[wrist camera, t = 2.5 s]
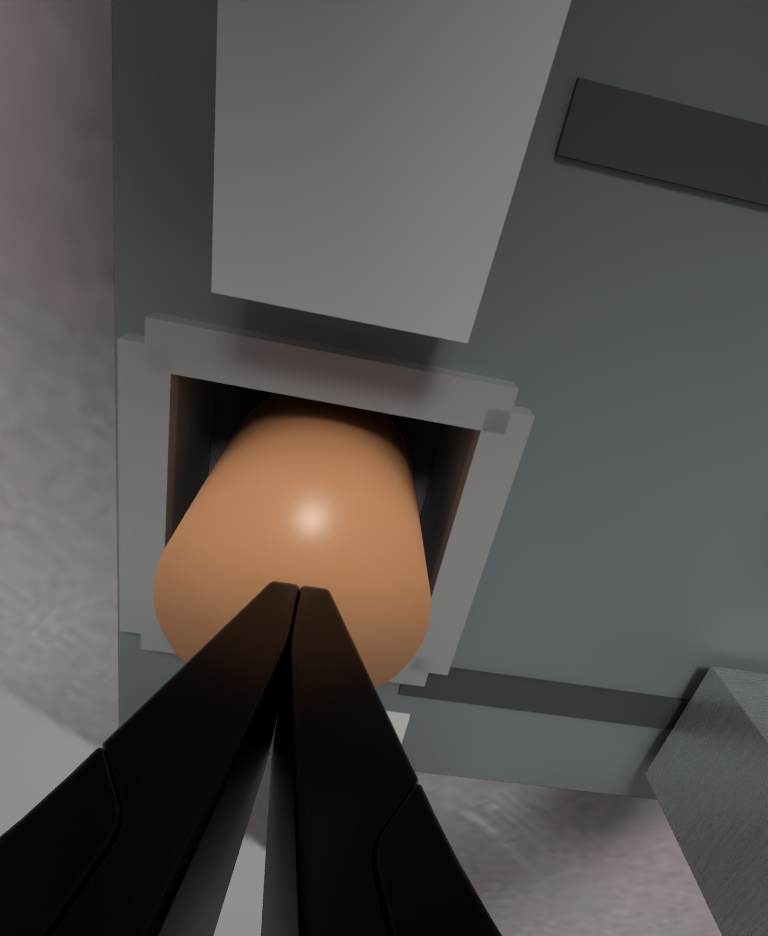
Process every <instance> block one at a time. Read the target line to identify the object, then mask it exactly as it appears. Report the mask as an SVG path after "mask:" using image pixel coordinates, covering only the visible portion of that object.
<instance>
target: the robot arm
mask: <svg viewBox="0 0 768 936" xmlns="http://www.w3.org/2000/svg"><path fill="white" fill-rule="evenodd" d="M277 715H278V716H277ZM276 720H277V722H276ZM275 726H276V728H275ZM274 730H275V734H274ZM273 735H274V741H273V750H272V761H271V776H270V793H269V810H268V827H267V843H266V861H265V877H264V894H263V910H262V929H261V936H502V935H501V933H500V932H499V930H498V928H497V927H496V925H495V923H494V922H493V920H492V918H491V917H490V915H489V913H488V912H487V910H486V908H485V907H484V905H483V903H482V901H481V900H480V898H479V896H478V894H477V893H476V891H475V889H474V887H473V886H472V884H471V882H470V880H469V879H468V877H467V875H466V874H465V872H464V870H463V868H462V867H461V865H460V863H459V861H458V859H457V857H456V855H455V853H454V852H453V850H452V848H451V846H450V844H449V842H448V840H447V838H446V836H445V834H444V832H443V830H442V828H441V826H440V824H439V822H438V820H437V818H436V816H435V814H434V812H433V810H432V807H431V805H430V803H429V801H428V799H427V797H426V795H425V792H424V790H423V788H422V786H421V785H419V784H417V782H418V778H417V776H416V774H415V772H414V770H413V768H412V765H411V763H410V761H409V759H408V757H407V755H406V753H405V750H404V748H403V746H402V744H401V742H400V740H399V738H398V736H397V733H396V731H395V729H394V727H393V725H392V723H391V721H390V719H389V716H388V714H387V712H386V710H385V708H384V706H383V704H382V701H381V699H380V697H379V695H378V693H377V691H376V689H375V687H374V684H373V682H372V680H371V678H370V676H369V674H368V672H367V670H366V667H365V665H364V663H363V661H362V659H361V657H360V655H359V652H358V650H357V648H356V646H355V644H354V642H353V640H352V638H351V635H350V633H349V631H348V629H347V627H346V625H345V623H344V621H343V618H342V616H341V614H340V612H339V610H338V608H337V606H336V604H335V601H334V599H333V597H332V595H331V593H330V591H329V590H327V589H325V588H318V587H311V586H302V587H301V588H300V591H299V586H298V585H296V584H291V583H284V582H277V581H273V582H270V583H269V584H268V585H267V586H266V587H265V588H264V589H263V590H262V591H261V592H260V593H259V594H257V595H256V596H255V597H254V598H253V599H252V600H251V601H250V602H249V603H248V604H247V605H246V606H245V607H244V608H243V609H242V610H241V611H240V612H239V613H238V614H237V615H236V616H235V617H234V618H233V619H232V620H230V621H229V622H228V623H227V624H226V625H225V626H224V627H223V628H222V629H221V630H220V631H219V632H218V633H217V634H216V635H215V636H214V637H213V638H212V639H211V640H210V641H209V642H208V643H207V644H206V645H205V646H203V647H202V648H201V649H200V650H199V651H198V652H197V653H196V654H195V655H194V656H193V657H192V658H191V659H190V660H189V661H188V662H187V663H186V664H185V665H184V666H183V667H182V668H181V669H180V670H179V671H178V672H176V673H175V674H174V675H173V676H172V677H171V678H170V679H169V680H168V681H167V682H166V683H165V684H164V685H163V686H162V687H161V688H160V689H159V690H158V691H157V692H156V693H155V694H154V695H153V696H152V697H151V698H149V699H148V700H147V701H146V702H145V703H144V704H143V705H142V706H141V707H140V708H139V709H138V710H137V711H136V712H135V713H134V714H133V715H132V716H131V717H130V718H129V719H128V720H127V721H126V722H125V723H124V724H122V725H121V726H120V727H119V728H118V729H117V730H116V731H115V732H114V733H113V734H112V735H111V736H110V737H109V738H108V739H107V740H106V741H105V742H104V743H103V748H98V749H96V750H95V751H94V752H93V753H92V754H91V755H90V756H89V757H88V758H87V759H86V760H85V761H84V762H83V763H82V764H81V765H80V766H79V767H77V768H76V769H75V771H73V772H72V773H71V774H70V775H69V776H68V777H67V778H66V779H65V780H64V781H63V782H62V783H61V784H60V785H58V786H57V787H56V788H55V789H54V790H53V791H52V792H51V793H50V794H48V795H47V796H46V797H45V798H44V799H43V800H42V801H41V802H40V803H39V804H38V805H37V806H35V807H34V808H33V809H32V810H31V811H30V812H29V813H28V814H27V815H26V816H24V817H23V818H22V819H21V820H20V821H18V822H17V823H16V824H15V825H14V826H12V827H11V828H10V829H9V830H8V831H7V832H5V833H4V834H3V835H2V836H0V936H213V935H214V931H215V928H216V925H217V922H218V918H219V915H220V912H221V908H222V905H223V902H224V899H225V896H226V892H227V889H228V886H229V883H230V879H231V876H232V873H233V870H234V866H235V863H236V860H237V856H238V853H239V850H240V847H241V843H242V840H243V837H244V834H245V831H246V828H247V824H248V821H249V818H250V815H251V811H252V808H253V805H254V802H255V798H256V795H257V792H258V789H259V785H260V782H261V779H262V776H263V772H264V769H265V766H266V763H267V759H268V755H269V752H270V748H271V744H272V740H273Z"/></svg>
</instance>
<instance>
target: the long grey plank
mask: <svg viewBox="0 0 768 936" xmlns="http://www.w3.org/2000/svg"><path fill="white" fill-rule="evenodd" d="M570 4H571V0H218V12H217V57H216V103H215V148H214V193H213V239H212V284H211V292H212V293H217V294H222V295H227V296H232V297H237V298H242V299H247V300H252V301H257V302H262V303H267V304H272V305H277V306H283V307H288V308H293V309H298V310H303V311H308V312H313V313H318V314H323V315H328V316H333V317H338V318H343V319H348V320H353V321H358V322H363V323H368V324H373V325H378V326H383V327H388V328H393V329H398V330H403V331H408V332H413V333H418V334H423V335H428V336H433V337H438V338H443V339H448V340H453V341H458V342H463V343H468V341H469V337H470V334H471V331H472V328H473V324H474V321H475V318H476V314H477V311H478V308H479V304H480V301H481V298H482V294H483V291H484V288H485V285H486V281H487V278H488V275H489V271H490V268H491V265H492V261H493V258H494V255H495V251H496V248H497V245H498V242H499V238H500V235H501V232H502V228H503V225H504V222H505V218H506V215H507V212H508V208H509V205H510V202H511V199H512V195H513V192H514V189H515V185H516V182H517V179H518V175H519V172H520V169H521V166H522V162H523V159H524V156H525V152H526V149H527V146H528V142H529V139H530V136H531V132H532V129H533V126H534V123H535V119H536V116H537V113H538V109H539V106H540V103H541V99H542V96H543V93H544V89H545V86H546V83H547V80H548V76H549V73H550V70H551V66H552V63H553V60H554V56H555V53H556V50H557V47H558V43H559V40H560V37H561V33H562V30H563V27H564V23H565V20H566V17H567V13H568V10H569V7H570Z"/></svg>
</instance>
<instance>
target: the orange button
mask: <svg viewBox="0 0 768 936" xmlns="http://www.w3.org/2000/svg"><path fill="white" fill-rule="evenodd" d="M273 581H277V582H284V583H291V584H296V585H298V586H299V591H300V588H301V587H302V586H311V587H318V588H325V589H327V590H329V591H330V593H331V595H332V597H333V599H334V601H335V604H336V606H337V608H338V610H339V612H340V614H341V616H342V618H343V621H344V623H345V625H346V627H347V629H348V631H349V633H350V635H351V638H352V640H353V642H354V644H355V646H356V648H357V650H358V652H359V655H360V657H361V659H362V661H363V663H364V665H365V667H366V670H367V672H368V674H369V676H370V678H371V680H372V682H373V684H374V687H375V689H377V688H378V687H380V686H382V685H384V684H385V683H386V682H388V681H389V680H391V679H392V678H393V677H395V676H396V675H397V674H398V673H399V672H400V671H401V670H402V669H403V668H404V667H405V666H406V665H407V664H408V663H409V662H410V660H411V659H412V658H413V657H414V655H415V654H416V652H417V651H418V649H419V647H420V645H421V644H422V642H423V639H424V637H425V634H426V632H427V629H428V625H429V620H430V615H431V595H430V587H429V580H428V573H427V567H426V560H425V553H424V546H423V539H422V533H421V526H420V519H419V512H418V506H417V499H416V492H415V485H414V479H413V472H412V465H411V458H410V454H409V451H408V447H407V445H406V443H405V440H404V438H403V436H402V434H401V433H400V431H399V429H398V428H397V426H396V425H395V424H394V423H393V421H392V420H391V419H390V418H389V417H388V416H387V415H386V414H385V413H382V412H377V411H371V410H366V409H360V408H355V407H349V406H344V405H338V404H333V403H327V402H322V401H317V400H311V399H306V398H300V397H295V396H289V395H284V394H276V395H274V396H272V397H270V398H268V399H266V400H265V401H263V402H261V403H260V404H259V405H258V406H256V407H255V408H254V409H253V410H251V412H250V413H249V414H248V415H247V416H246V417H245V418H244V419H243V421H242V422H241V423H240V425H239V426H238V428H237V429H236V431H235V433H234V434H233V436H232V438H231V439H230V441H229V443H228V444H227V446H226V448H225V449H224V451H223V452H222V454H221V456H220V457H219V459H218V461H217V462H216V464H215V466H214V467H213V469H212V471H211V472H210V474H209V476H208V477H207V479H206V481H205V482H204V484H203V486H202V487H201V489H200V491H199V492H198V494H197V496H196V497H195V499H194V501H193V502H192V504H191V505H190V507H189V509H188V510H187V512H186V514H185V515H184V517H183V519H182V520H181V522H180V524H179V525H178V527H177V529H176V530H175V532H174V534H173V535H172V537H171V539H170V540H169V542H168V544H167V545H166V547H165V549H164V551H163V553H162V555H161V557H160V559H159V562H158V565H157V569H156V572H155V577H154V586H153V597H154V607H155V611H156V615H157V619H158V622H159V624H160V627H161V629H162V632H163V634H164V635H165V637H166V639H167V641H168V642H169V644H170V646H171V647H172V648H173V649H174V651H175V652H176V653H177V655H178V656H179V657H180V658H181V659H182V660H183V661H184V662H185V663H187V662H188V661H189V660H190V659H191V658H192V657H193V656H194V655H195V654H196V653H197V652H198V651H199V650H200V649H201V648H202V647H203V646H205V645H206V644H207V643H208V642H209V641H210V640H211V639H212V638H213V637H214V636H215V635H216V634H217V633H218V632H219V631H220V630H221V629H222V628H223V627H224V626H225V625H226V624H227V623H228V622H229V621H230V620H232V619H233V618H234V617H235V616H236V615H237V614H238V613H239V612H240V611H241V610H242V609H243V608H244V607H245V606H246V605H247V604H248V603H249V602H250V601H251V600H252V599H253V598H254V597H255V596H256V595H257V594H259V593H260V592H261V591H262V590H263V589H264V588H265V587H266V586H267V585H268V584H269V583H270V582H273Z"/></svg>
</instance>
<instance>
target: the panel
mask: <svg viewBox="0 0 768 936" xmlns="http://www.w3.org/2000/svg"><path fill="white" fill-rule="evenodd" d="M217 12H218V0H112V92H113V189H114V286H115V383H116V481H117V578H118V675H119V727H120V726H121V725H122V724H124V723H125V722H126V721H127V720H128V719H129V718H130V717H131V716H132V715H133V714H134V713H135V712H136V711H137V710H138V709H139V708H140V707H141V706H142V705H143V704H144V703H145V702H146V701H147V700H148V699H149V698H151V697H152V696H153V695H154V694H155V693H156V692H157V691H158V690H159V689H160V688H161V687H162V686H163V685H164V684H165V683H166V682H167V681H168V680H169V679H170V678H171V677H172V676H173V675H174V674H175V673H176V672H178V671H179V670H180V669H181V668H182V667H183V666H184V665H185V664H186V663H185V662H184V661H183V660H182V659H181V658H180V657H179V656H178V655H177V653H176V652H175V651H174V649H173V648H172V647H171V646H170V644H169V642H168V641H167V639H166V637H165V635H164V634H163V632H162V629H161V627H160V624H159V622H158V619H157V615H156V611H155V607H154V597H153V586H154V577H155V572H156V569H157V565H158V562H159V559H160V557H161V555H162V553H163V551H164V549H165V547H166V545H167V544H168V542H169V540H170V539H171V537H172V535H173V534H174V532H175V530H176V529H177V527H178V525H179V524H180V522H181V520H182V519H183V517H184V515H185V514H186V512H187V510H188V509H189V507H190V505H191V504H192V502H193V501H194V499H195V497H196V496H197V494H198V492H199V491H200V489H201V487H202V486H203V484H204V482H205V481H206V479H207V477H208V472H209V457H210V443H211V429H212V415H213V400H214V386H215V382H218V383H224V384H229V385H235V386H240V387H246V388H251V389H257V390H262V391H267V392H273V393H278V394H284V395H289V396H295V397H300V398H306V399H311V400H317V401H322V402H327V403H333V404H338V405H344V406H349V407H355V408H360V409H366V410H371V411H377V412H382V413H388V414H393V415H398V416H404V417H409V418H415V419H420V420H426V421H431V422H437V423H442V424H445V426H444V429H443V433H442V437H441V441H440V444H439V448H438V452H437V456H436V460H435V463H434V467H433V471H432V475H431V478H430V482H429V486H428V490H427V494H426V497H425V501H424V505H423V509H422V512H421V516H420V526H421V533H422V539H423V546H424V553H425V560H426V567H427V573H428V580H429V587H430V595H431V615H430V620H429V625H428V629H427V632H426V634H425V637H424V639H423V642H422V644H421V645H420V647H419V649H418V651H417V652H416V654H415V655H414V657H413V658H412V659H411V660H410V662H409V663H408V664H407V665H406V666H405V667H404V668H403V669H402V670H401V671H400V672H399V673H398V674H397V675H396V676H395V677H393V678H392V679H391V680H389V681H388V682H386V683H385V684H384V685H382V686H380V687H378V688H377V689H376V691H377V693H378V695H379V697H380V699H381V701H382V704H383V706H384V708H385V710H386V712H387V714H388V716H389V719H390V721H391V723H392V725H393V727H394V729H395V731H396V733H397V736H398V738H399V740H400V742H401V744H402V746H403V748H404V750H405V753H406V755H407V757H408V759H409V761H410V763H411V765H412V768H413V770H414V771H416V772H425V773H434V774H442V775H451V776H459V777H468V778H476V779H485V780H494V781H502V782H511V783H519V784H528V785H537V786H545V787H554V788H562V789H571V790H580V791H588V792H597V793H605V794H614V795H623V796H631V797H640V798H648V799H657V798H656V796H655V794H654V791H653V789H652V787H651V785H650V783H649V781H648V779H647V777H646V775H645V774H646V772H647V770H648V769H649V767H650V765H651V764H652V762H653V761H654V759H655V757H656V756H657V754H658V752H659V751H660V749H661V747H662V746H663V744H664V743H665V741H666V739H667V738H668V736H669V734H670V733H671V731H672V730H673V728H674V726H675V725H676V723H677V721H678V720H679V718H680V716H681V715H682V713H683V712H684V710H685V708H686V707H687V705H688V703H689V702H690V700H691V698H692V697H693V695H694V694H695V692H696V690H697V689H698V687H699V685H700V684H701V682H702V681H703V679H704V677H705V676H706V674H707V672H708V671H709V669H710V667H711V666H715V667H722V668H729V669H736V670H743V671H750V672H757V673H763V674H768V0H571V4H570V7H569V10H568V13H567V17H566V20H565V23H564V27H563V30H562V33H561V37H560V40H559V43H558V47H557V50H556V53H555V56H554V60H553V63H552V66H551V70H550V73H549V76H548V80H547V83H546V86H545V89H544V93H543V96H542V99H541V103H540V106H539V109H538V113H537V116H536V119H535V123H534V126H533V129H532V132H531V136H530V139H529V142H528V146H527V149H526V152H525V156H524V159H523V162H522V166H521V169H520V172H519V175H518V179H517V182H516V185H515V189H514V192H513V195H512V199H511V202H510V205H509V208H508V212H507V215H506V218H505V222H504V225H503V228H502V232H501V235H500V238H499V242H498V245H497V248H496V251H495V255H494V258H493V261H492V265H491V268H490V271H489V275H488V278H487V281H486V285H485V288H484V291H483V294H482V298H481V301H480V304H479V308H478V311H477V314H476V318H475V321H474V324H473V328H472V331H471V334H470V337H469V341H468V343H463V342H458V341H453V340H448V339H443V338H438V337H433V336H428V335H423V334H418V333H413V332H408V331H403V330H398V329H393V328H388V327H383V326H378V325H373V324H368V323H363V322H358V321H353V320H348V319H343V318H338V317H333V316H328V315H323V314H318V313H313V312H308V311H303V310H298V309H293V308H288V307H283V306H277V305H272V304H267V303H262V302H257V301H252V300H247V299H242V298H237V297H232V296H227V295H222V294H217V293H212V292H211V284H212V239H213V193H214V148H215V103H216V57H217ZM277 716H278V715H277ZM276 722H277V720H276ZM275 728H276V726H275ZM274 734H275V730H274ZM273 741H274V735H273V740H272V744H271V748H270V752H269V754H270V755H272V750H273Z"/></svg>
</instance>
